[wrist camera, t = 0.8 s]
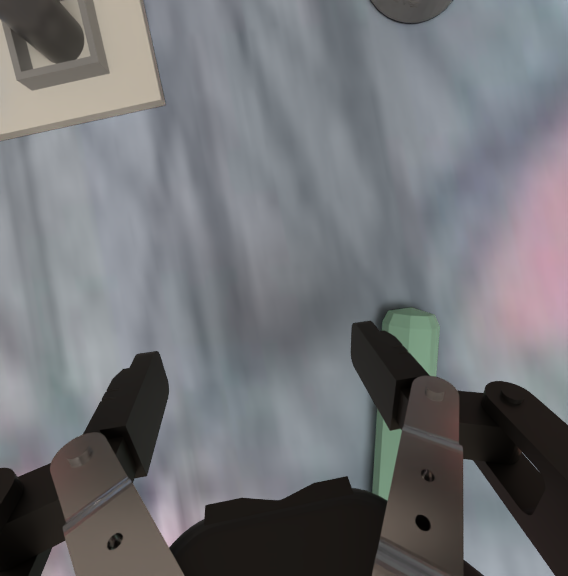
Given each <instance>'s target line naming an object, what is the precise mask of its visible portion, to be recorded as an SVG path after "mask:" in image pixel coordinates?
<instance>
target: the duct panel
mask: <svg viewBox="0 0 568 576" xmlns="http://www.w3.org/2000/svg"><path fill="white" fill-rule="evenodd" d="M58 1H59V2H60V3H61V4H62V5H63V6H64V7H65V8H66V10H67V11H68V12H69V13H70V14H71V15H72V16H73V17H74V19H75V20H76V21H77V22H78V23H79V25H80V26H81V28H82V30H83V34H84V47H83V50H82V52H81V54H80V55H79V57H78V58H77V59H76V60H71V61H67V62H62V63H58V64H56V63H53V62H51V61H50V60H48V59H47V58H46V57H44V56H43V55H42V54H41V53H40V52H38V51H37V50H36V49H35V48H34V47H33V46H31V45H30V44H29V43H28V42H27V41H25V40H24V39H23V38H22V37H21V36H19V35H18V34H17V33H16V32H15V31H13V30H12V29H11V28H10V27H9V26H7V25H6V24H5V23H4V22H3V21H1V20H0V141H3V140H7V139H12V138H16V137H21V136H26V135H30V134H35V133H39V132H44V131H49V130H53V129H58V128H63V127H67V126H72V125H76V124H81V123H86V122H90V121H95V120H100V119H104V118H109V117H113V116H118V115H123V114H127V113H132V112H136V111H141V110H146V109H150V108H155V107H160V106H164V105H166V104H165V100H164V95H163V90H162V86H161V81H160V76H159V72H158V67H157V63H156V58H155V53H154V49H153V44H152V40H151V35H150V30H149V26H148V21H147V16H146V12H145V7H144V3H143V0H58Z"/></svg>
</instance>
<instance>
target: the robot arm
mask: <svg viewBox="0 0 568 576" xmlns="http://www.w3.org/2000/svg"><path fill="white" fill-rule="evenodd" d="M371 1H372V3H373V4H374V5H375V6H376V7H377V8H378V10H379V11H381V12H382V13H383V14H385V15H386V16H387V17H389V18H391V19H394V20H396V21H399V22H405V23H419V22H422V21H426V20H429V19H431V18H433V17H435V16H437V15H439V14H440V13H441V12H442V11H444V10H445V9H446V8H447V7H448V6H449V5H450V4H451V2H452V1H453V0H371ZM351 359H352V363H353V366H354V368H355V370H356V371H357V373H358V375H359V377H360V378H361V380H362V382H363V384H364V386H365V387H366V389H367V391H368V393H369V394H370V396H371V398H372V400H373V402H374V403H375V405H376V407H377V409H378V410H379V412H380V414H381V416H382V418H383V419H384V421H385V423H386V425H387V427H388V428H389V430H390V431H392V430H397V429H401V430H402V433H401V438H400V443H399V448H398V452H397V457H396V462H395V467H394V472H393V477H392V482H391V487H390V492H389V497H388V501H387V500H386V499H384V498H382V497H380V496H378V495H376V494H374V493H371V492H368V491H365V490H361V489H356V488H351V485H350V482H349V479H348V477H347V476H346V477H341V478H336V479H332V480H327V481H322V482H317V483H313V484H311V485H309V486H307V487H305V488H304V489H302V490H300V491H298V492H296V493H294V494H292V495H290V496H288V497H286V498H284V499H282V500H263V499H250V498H239V499H234V500H229V501H224V502H219V503H214V504H210V505H206V506H205V519H203V520H202V521H200V522H198V523H196V524H195V525H193V526H192V527H190V528H189V529H188V530H187V531H185V532H184V533H183V534H182V535H181V536H180V537H179V538H178V539H177V540H176V541H175V542H174V543H173V544H172V545H171V546H170V547H168V545H167V544H166V542H165V540H164V538H163V537H162V535H161V533H160V531H159V529H158V528H157V526H156V524H155V522H154V520H153V519H152V517H151V515H150V513H149V512H148V510H147V508H146V506H145V504H144V503H143V501H142V499H141V497H140V496H139V494H138V492H137V490H136V488H135V487H134V485H133V481H134V478H139V477H144V476H147V474H148V470H149V466H150V463H151V459H152V455H153V452H154V448H155V444H156V440H157V437H158V433H159V429H160V426H161V422H162V418H163V414H164V411H165V407H166V403H167V400H168V395H169V384H168V379H167V376H166V373H165V370H164V366H163V363H162V360H161V357H160V354H159V352H158V351H154V352H147V353H140V354H137V355H136V356H135V358H134V360H133V362H132V364H131V366H130V368H126V369H123V370H122V371H121V372H120V373H118V374H117V375H116V376H115V377H114V378H113V379H112V381H111V383H110V385H109V387H108V389H107V392H105V394H104V396H103V398H102V401H101V402H100V403H99V405H98V407H97V409H96V411H95V413H94V415H93V416H92V418H91V420H90V422H89V424H88V426H87V428H86V430H85V431H84V433H83V435H81V436H79V437H77V438H75V439H73V440H71V441H70V442H68V443H67V444H66V445H64V446H63V447H62V448H61V449H60V450H59V451H58V452H57V454H56V455H55V456H54V458H53V460H52V462H51V463H50V464H48V465H45V466H43V467H40V468H38V469H36V470H33V471H31V472H29V473H26V474H24V475H21V476H19V477H17V476H16V474H15V473H14V472H13V470H11V469H9V468H0V576H41V574H42V571H43V569H44V566H45V564H46V562H47V559H48V557H49V554H50V552H51V549H52V547H54V546H55V545H57V544H59V543H61V542H63V541H65V540H66V543H67V547H68V550H69V554H70V557H71V561H72V564H73V567H74V571H75V574H76V576H484V575H483V574H481V573H480V572H479V571H477V570H476V569H475V568H474V567H472V566H471V565H470V564H469V563H467V562H466V561H465V560H463V459H469V460H473V461H474V462H475V463H476V465H477V466H478V468H479V469H480V470H481V472H482V473H483V475H484V476H485V478H486V479H487V480H488V482H489V483H490V485H491V486H492V487H493V489H494V490H495V492H496V493H497V494H498V496H499V497H500V499H501V500H502V501H503V503H504V504H505V506H506V507H507V508H508V510H509V511H510V513H511V514H512V516H513V517H514V518H515V520H516V521H517V523H518V524H519V525H520V527H521V528H522V530H523V531H524V532H525V534H526V535H527V537H528V538H529V539H530V541H531V542H532V544H533V545H534V546H535V548H536V549H537V551H538V552H539V553H540V555H541V556H542V558H543V559H544V561H545V562H546V563H547V565H548V566H549V568H550V569H551V570H552V572H553V573H554V575H555V576H568V425H567V424H566V423H565V422H564V421H562V420H561V419H560V418H559V417H558V416H557V415H556V414H554V413H553V412H552V411H551V410H550V409H549V408H548V407H546V406H545V405H544V404H543V403H542V402H541V401H539V400H538V399H537V398H536V397H535V396H534V395H533V394H531V393H530V392H529V391H527V390H526V389H524V388H522V387H520V386H518V385H515V384H512V383H509V382H503V381H494V382H490V383H488V384H487V385H486V387H485V390H484V393H477V392H465V391H457V390H456V388H455V387H454V386H453V385H452V384H450V383H449V382H447V381H446V380H444V379H441V378H438V377H435V376H430V375H429V374H428V373H427V372H426V371H425V369H424V368H423V367H422V366H421V365H420V364H419V363H418V362H417V360H416V359H415V358H414V357H413V356H412V355H411V354H410V353H409V352H408V350H407V349H406V348H405V347H404V346H403V345H402V343H401V342H400V341H399V340H398V339H397V338H396V337H395V336H394V335H392V334H390V333H388V332H387V331H385V330H384V331H379V330H378V328H377V327H376V326H375V325H374V323H373V322H372V321H364V322H357V323H353V324H352V332H351ZM522 452H523V453H524V455H525V456H526V457H527V458H528V459H529V460H530V461H531V462H532V463H533V465H534V466H535V467H536V468H537V469H538V470H539V471H538V470H537V469H536V468H535V467H534V466H533V465H532V464H531V462H530V461H529V460H528V459H527V458H526V457H525V456H524V455H523V453H522ZM540 473H541V474H540Z"/></svg>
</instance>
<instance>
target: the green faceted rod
mask: <svg viewBox="0 0 568 576" xmlns="http://www.w3.org/2000/svg"><path fill="white" fill-rule="evenodd" d="M384 330H385V331H387V332H388V333H390V334H392V335H394V336H395V337H396V338H397V339H398V340H399V341H400V342H401V343H402V345H403V346H404V347H405V348H406V349H407V350H408V352H409V353H410V354H411V355H412V356H413V357H414V358H415V359H416V360H417V362H418V363H419V364H420V365H421V366H422V367H423V368H424V369H425V371H426V372H427V373H428V374H429V375H430V376H435V377H436V371H437V357H438V344H439V330H440V327H439V324H438V322H437V319H436V317H435V315H434V314H431V313H427V312H424V311H421V310H418V309H415V308H412V307H410V308H403V309H396V310H390V311H388V312H387V314H386V316H385V318H384V319H383V321H382V331H384ZM401 433H402V430H401V429H397V430H392V431H390V430H389V428H388V427H387V425H386V423H385V421H384V419H383V418H382V416H381V414H380V412H379V410H378V409H377V421H376V438H375V454H374V471H373V488H372V493H374V494H376V495H378V496H380V497H382V498H384V499H386V500H387V501H388V497H389V492H390V487H391V482H392V477H393V472H394V467H395V462H396V457H397V452H398V448H399V443H400V438H401Z"/></svg>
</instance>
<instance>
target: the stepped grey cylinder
mask: <svg viewBox="0 0 568 576" xmlns="http://www.w3.org/2000/svg"><path fill="white" fill-rule="evenodd" d="M0 20H1V21H3V22H4V23H5V24H6V25H7V26H9V27H10V28H11V29H12V30H13V31H15V32H16V33H17V34H18V35H19V36H21V37H22V38H23V39H24V40H25V41H27V42H28V43H29V44H30V45H31V46H33V47H34V48H35V49H36V50H37V51H38V52H40V53H41V54H42V55H43V56H44V57H46V58H47V59H48V60H50V61H51V62H53V63H56V64H58V63H62V62H67V61H71V60H76V59H77V58H78V57H79V55H80V54H81V52H82V50H83V47H84V34H83V30H82V28H81V26H80V25H79V23H78V22H77V21H76V20H75V19H74V17H73V16H72V15H71V14H70V13H69V12H68V11H67V10H66V8H65V7H64V6H63V5H62V4H61V3H60V2H59V1H58V0H0Z"/></svg>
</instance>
